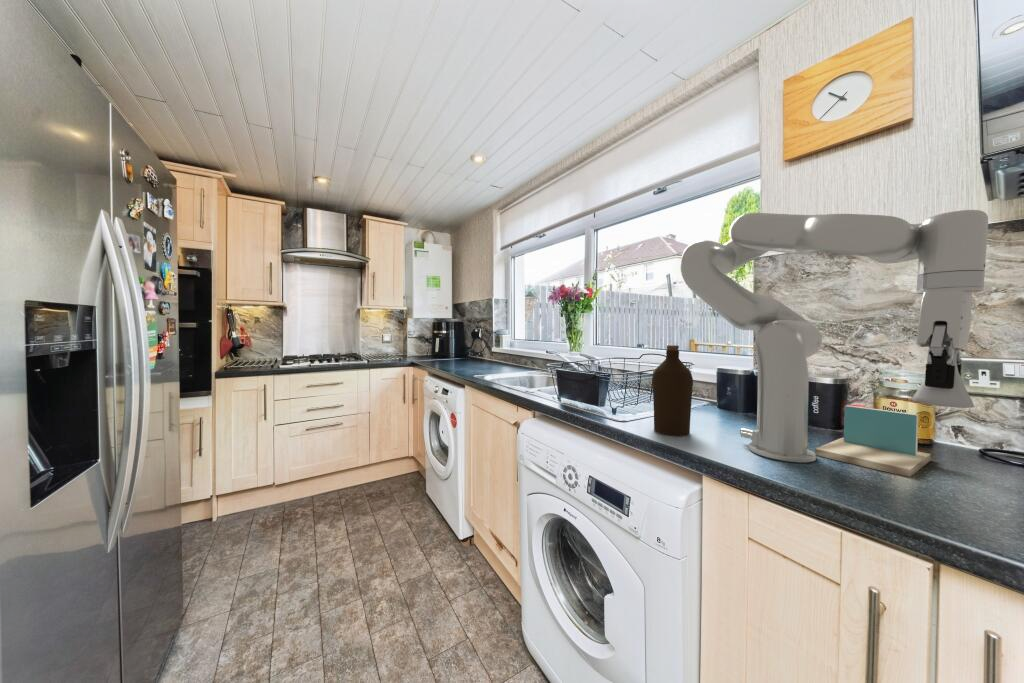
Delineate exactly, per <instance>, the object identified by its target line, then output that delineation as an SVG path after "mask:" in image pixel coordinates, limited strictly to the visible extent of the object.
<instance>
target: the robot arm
mask: <svg viewBox="0 0 1024 683" xmlns="http://www.w3.org/2000/svg"><path fill="white" fill-rule="evenodd" d="M988 230H989V216H988V214H987V213H986V211H984V210H980V209H964V210H956V211H948V212H944V213H943V212H942V213H939V214H936V215H932V216H929V217H928V218H926V219H925V220H924V221H922V223H910V222H909V221H907V220H905V219H903V218H901V217H898V216H892V215H884V214H883V215H881V214H865V213H864V214H863V213H861V214H860V213H859V214H858V213H830V214H829V213H827V214H789V213H788V214H787V213H771V212H770V213H769V212H748V213H744V214H742V215H740V216H738V217H737V218H736V219H734V220H733V222H732V223H731V225H730V228H729V237H730V240H729V241H726V242H725V243H724V244H723V243H720V242H717V241H713V240H707V239H706V240H705V239H704V240H696V241H693V242H691V244H688V246H687V247H686V248H684V250H683V252H682V255H681V258H680V273H681V276H682V279H683V281H684V283H685V285H686V286H687V287H688V289H689V290H691V291H692V293H694V294H695V295H696V296H697V297H698V298H700V300H702V301H703V302H704V303H706V304H707V306H709V308H711V309H713V311H715V312H716V313H717V314H719V315H720V316H721V317H722V318H724V319H725V320H726V321H727V322H728V323H730V325H732V326H733V327H734V328H736V329H739V330H743V331H753V332H755V333H756V336H755V339H754V351H755V355H756V356H755V358H756V364H757V405H756V406H757V411H756V415H757V416H756V429H755V430H752V429H747V428H744V427H742V428H740V430H739V434H740V437H742V438H745V439H750V441H751V442H750V443H749V444H748V449H749V451H751V452H752V453H755V454H756V455H758V456H761V457H764V458H768V459H771V460H772V459H773V460H777V461H783V462H787V463H788V462H790V463H803V464H804V463H811V462H815V461H816V460H817V455H816V454H815V451H812V450H810V449H809V448H808V431H809V430H808V428H809V427H808V426H809V386H810V385H809V384H810V383H809V379H810V378H809V370H808V369H809V368H808V360H807V358H810V357H812V356H814V355H815V354H816V353H818V352H819V351H820V349H821V348H822V345H823V337H822V333H821V331H820V330H819V329H818V328H817V326H815V325H814V324H813V323H811V322H810V321H808V320H807V319H806V318H804V317H803V316H801V315H800V314H799V313H797V312H795V311H794V310H792V309H791V308H790V307H788V306H787V305H786V304H784V303H782V302H781V301H779V300H777V298H774V297H772V296H769V295H765V294H759V293H755V292H752V291H750V290H748V289H747V288H745V287H744V286H742V285H741V284H739V283H738V282H736V280H734V279H732V278H731V277H730V276H728V275H727V274H730V273H732V272H734V271H736V270H738V269H739V268H742V267H743V266H745V265H747V264H749V263H751V262H753V261H754V260H757V259H758V258H760V257H761V256H763V255H765V254H767V253H768V252H777V253H782V254H783V253H785V254H790V255H791V254H793V255H804V254H807V253H815V252H819V253H820V252H821V253H832V254H841V255H843V254H844V255H849V256H851V255H852V256H859V257H864V258H865V257H866V258H868V259H871V260H872V261H875V262H877V263H881V264H885V265H886V264H887V265H889V264H891V265H893V264H898V263H904V262H905V263H906V262H908V261H915V260H918V262H917V277H916V278H917V279H916V292H915V293H916V295H922V298H921V302H920V309H919V315H918V325H917V333H916V339H915V340H916V341H915V343H916V346H918V347H920V348H928V352H927V360H926V364H925V374H924V379H925V386H927V387H936V388H946V389H952V388H953V387H954V376H955V366H952V364H953V356H954V349H955V350H960V352H959V353H957V359H956V362H957V367H958V372H959V374H960V376H961V374H962V364H961V352H962V351H961V350H962V348H965V347H967V346H968V343H969V342H968V341H969V335H970V328H971V318H972V308H973V306H972V304H973V302H972V301H973V293H979V292H984V290H985V277H986V276H985V275H986V258H987V257H986V256H987V248H988V246H987V244H988V233H989V232H988ZM947 351H948V352H947ZM947 353H948V354H947ZM947 355H948V356H947Z"/></svg>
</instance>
